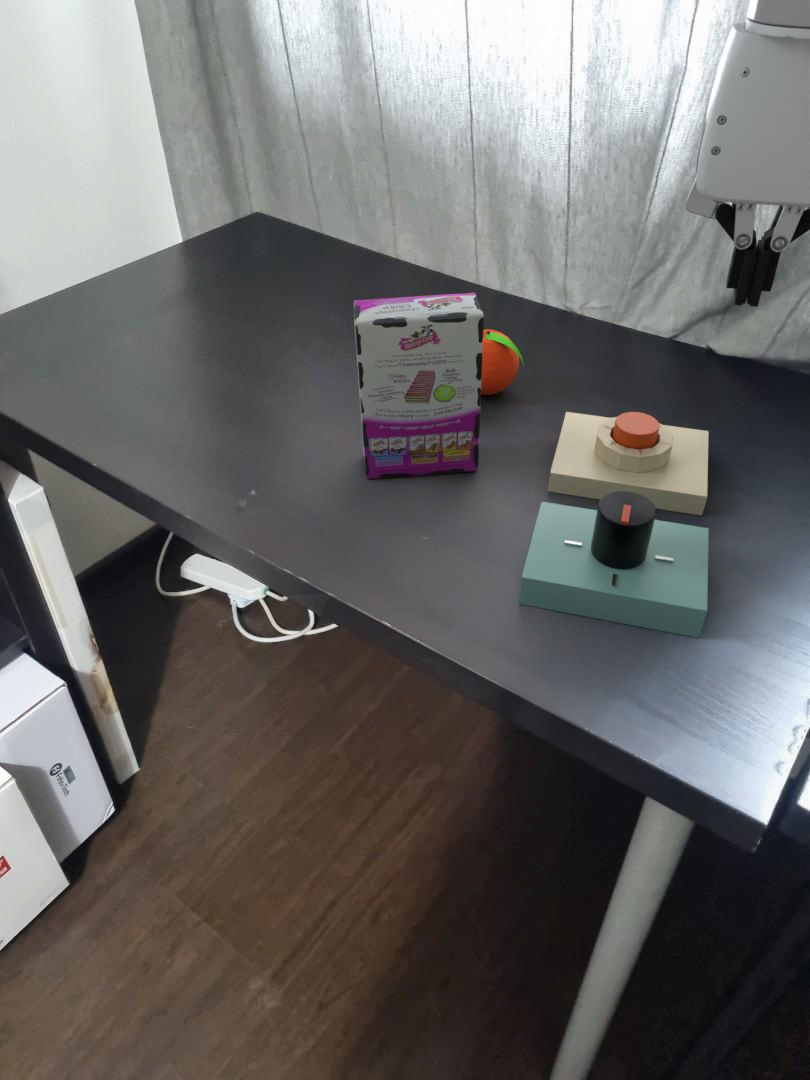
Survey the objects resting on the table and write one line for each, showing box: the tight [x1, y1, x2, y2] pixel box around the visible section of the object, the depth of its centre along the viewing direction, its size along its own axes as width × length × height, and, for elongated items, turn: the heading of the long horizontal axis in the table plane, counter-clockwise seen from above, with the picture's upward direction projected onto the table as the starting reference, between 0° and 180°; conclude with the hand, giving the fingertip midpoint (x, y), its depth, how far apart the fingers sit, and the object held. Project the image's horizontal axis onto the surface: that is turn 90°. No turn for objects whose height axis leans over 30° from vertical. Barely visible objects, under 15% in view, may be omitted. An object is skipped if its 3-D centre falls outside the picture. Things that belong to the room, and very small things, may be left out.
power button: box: [613, 411, 660, 450], centre depth 77 cm, size 4×4×2 cm
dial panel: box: [518, 501, 710, 639], centre depth 68 cm, size 14×10×3 cm
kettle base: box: [547, 411, 710, 517], centre depth 79 cm, size 14×11×4 cm
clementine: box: [481, 329, 525, 396], centre depth 89 cm, size 8×7×7 cm
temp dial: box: [591, 491, 657, 569], centre depth 65 cm, size 4×4×5 cm
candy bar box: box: [353, 292, 485, 480], centre depth 76 cm, size 11×5×16 cm, turn 95°
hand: (745, 298), depth 60 cm, fingers closed
